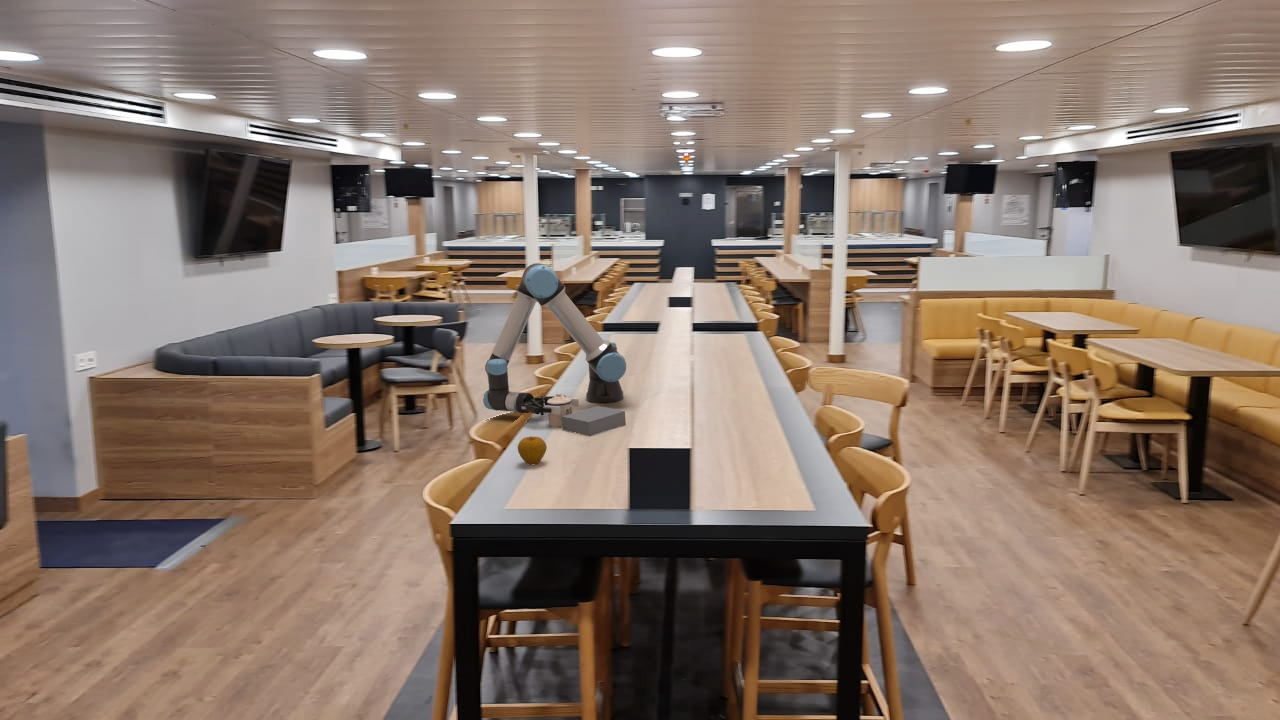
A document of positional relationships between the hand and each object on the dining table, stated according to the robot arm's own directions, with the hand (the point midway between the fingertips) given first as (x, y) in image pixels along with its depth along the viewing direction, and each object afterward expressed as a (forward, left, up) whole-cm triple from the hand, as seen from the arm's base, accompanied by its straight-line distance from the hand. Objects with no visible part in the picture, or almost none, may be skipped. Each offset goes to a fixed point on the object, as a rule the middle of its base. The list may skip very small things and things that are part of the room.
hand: (569, 406), depth 321 cm
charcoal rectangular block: (-2, +10, -7) cm, 12 cm away
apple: (+39, +25, -7) cm, 47 cm away
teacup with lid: (+1, -4, -7) cm, 8 cm away
